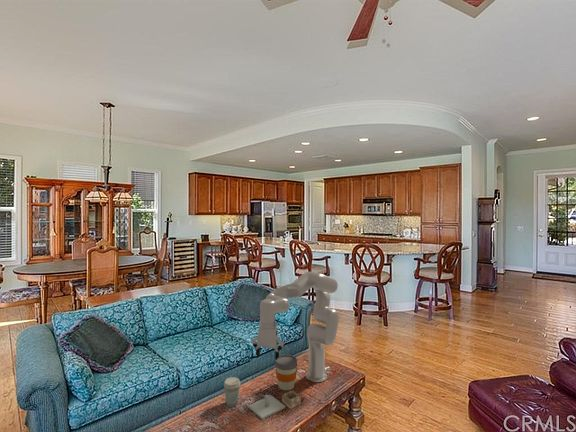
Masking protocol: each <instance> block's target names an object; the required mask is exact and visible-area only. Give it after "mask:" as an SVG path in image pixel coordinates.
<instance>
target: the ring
mask: <svg viewBox="0 0 576 432" xmlns="http://www.w3.org/2000/svg"><path fill="white" fill-rule="evenodd" d="M281 403H282V404H283V405H284V406H285V407H286V408H288V409H289V410H291V409H293V408H295V407H297V406H299V405H301V404H302V396H301V395H300V394H298V393H297V392H296V391H294V390H293V389H291V390H288V391H287V392H285V393H283V394H281Z"/></svg>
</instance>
